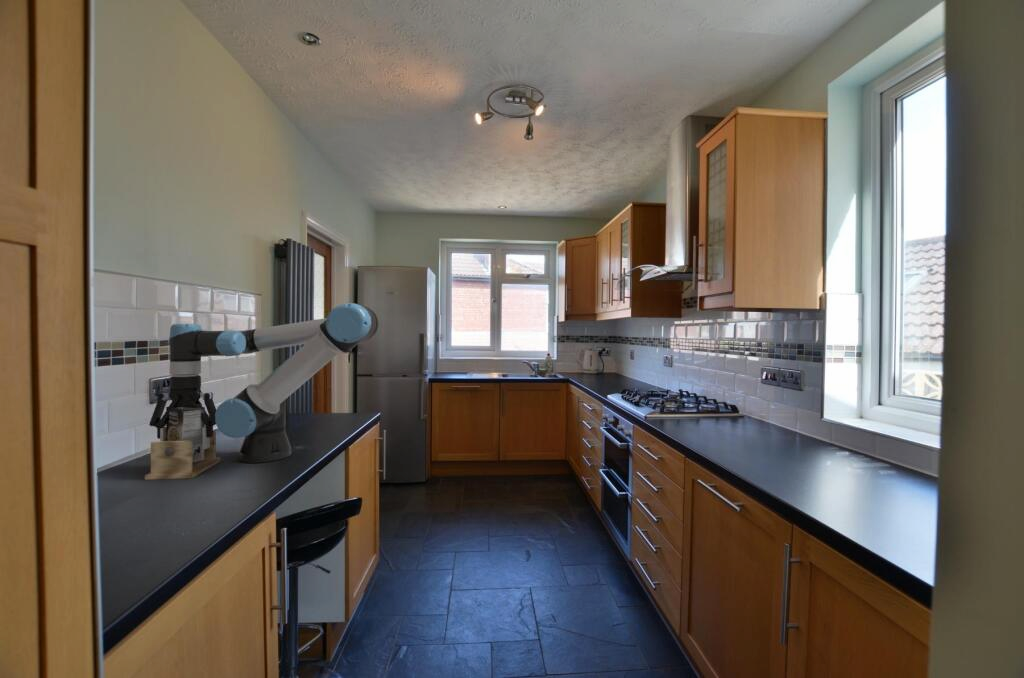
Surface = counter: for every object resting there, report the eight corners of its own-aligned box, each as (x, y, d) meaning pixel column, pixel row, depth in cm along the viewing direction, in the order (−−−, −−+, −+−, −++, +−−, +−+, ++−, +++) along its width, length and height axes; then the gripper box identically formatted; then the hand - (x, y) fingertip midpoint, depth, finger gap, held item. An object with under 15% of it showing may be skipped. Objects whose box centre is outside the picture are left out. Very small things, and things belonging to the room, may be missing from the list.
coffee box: (165, 460, 129) (165, 406, 129) (189, 455, 135) (189, 403, 135) (181, 465, 125) (181, 409, 125) (205, 459, 131) (205, 406, 131)
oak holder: (220, 461, 139) (220, 429, 139) (191, 478, 123) (192, 442, 123) (179, 462, 137) (179, 430, 137) (144, 479, 121) (144, 443, 121)
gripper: (233, 374, 135) (233, 444, 136) (150, 374, 132) (150, 446, 132) (221, 376, 128) (221, 450, 128) (133, 376, 124) (133, 453, 125)
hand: (185, 448), depth 130 cm, fingers closed on coffee box, 11 cm apart
